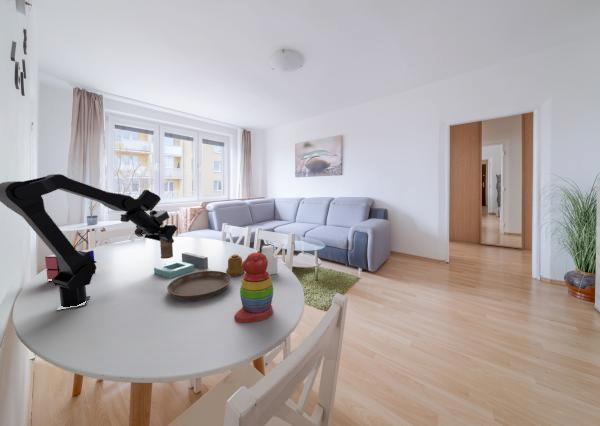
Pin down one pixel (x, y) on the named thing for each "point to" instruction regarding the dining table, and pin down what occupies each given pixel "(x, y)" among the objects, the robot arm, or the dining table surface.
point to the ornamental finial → (234, 266)
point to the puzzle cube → (53, 264)
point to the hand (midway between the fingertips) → (169, 241)
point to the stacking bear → (255, 290)
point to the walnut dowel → (166, 249)
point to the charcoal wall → (195, 260)
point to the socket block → (173, 269)
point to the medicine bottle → (269, 258)
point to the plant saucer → (199, 285)
